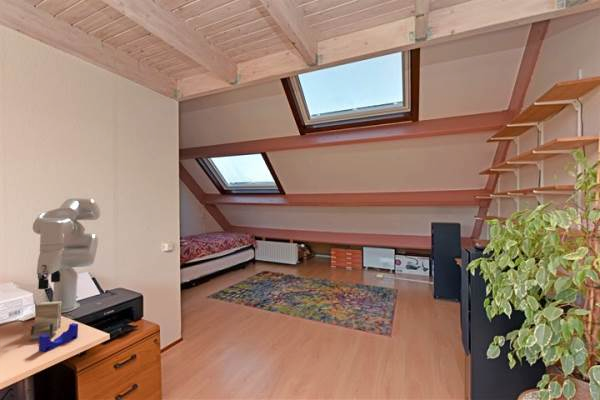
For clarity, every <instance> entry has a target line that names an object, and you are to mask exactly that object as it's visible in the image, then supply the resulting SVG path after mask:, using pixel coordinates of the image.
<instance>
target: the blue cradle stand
mask: <svg viewBox="0 0 600 400" xmlns="http://www.w3.org/2000/svg"><path fill="white" fill-rule="evenodd" d="M78 328H79V323H74V322H73V323H70V324H69V325H68V329H67V330H66V331H63V332H62V333H61V334H60V335H59V336H58V337H56V338H55V339H54V340H51V339H50V338H49V335H45V334H43V335H41V336H39V340H38V352H41V353H47V352H49V351H51V350H53V349H54V348H57V347H60V346H63V345H65V344H66V343H69V342H71V341H73V339H74V340H76V339H78V338H79V337H78V332H79V329H78Z"/></svg>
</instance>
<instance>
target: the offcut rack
mask: <svg viewBox="0 0 600 400" xmlns="http://www.w3.org/2000/svg"><path fill="white" fill-rule="evenodd" d="M54 330H55V329H54V326H53V324H50V327H40V328H37V329H36V330H35V324H33V325H31V327H30V338H29V342H36V341H38V342H39V336H41V335H43V334H45V335H49V338H50V340H51V339H52V338H54V337H55V336H56V335H57V332H55V331H56V330H55V331H54Z"/></svg>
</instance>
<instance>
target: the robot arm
mask: <svg viewBox="0 0 600 400" xmlns="http://www.w3.org/2000/svg"><path fill="white" fill-rule="evenodd" d="M100 217H101V211H100V207H99V205H98V203H97V202H96V201H95V199H92V198H73V197H72V198H68V199H66V200H65V201H64V202H63V203H62V204H61V205H60V207H58V208H55V209H50V210H47V211H45V212H42V213H40V214H39V215H38V216H37V218H35V220H34V222H33V223H32V230H33V233H35V234H37V235H40V238H39V239H40V240H39V253H38V254H39V255H38V258H37V259H38V260H37V266H36V274H37V281H38V284H37V287H38V290H47V289H49V279H48V278H49V277H50V283H53V289H52V290H53V291H52V302H59V301H62V305H61V314H62V313H63V314H64V313H67V312H71V311H75V310H77V309H78V308H79V307H80V306H81V305H80V303H79V302H77V299H78V293H77V292H78V273H77V271H76V270H75V269H74V268H81V267H82V268H83V267H91V266H93V264H94V263H95V258H96V253H97V251H98V250H97V249H98V244H99V238H98V236H97V234H95V233H85V231H86V229H85V227H84V225H83V224H82V223H80V221H96V220H98V219H99V218H100Z"/></svg>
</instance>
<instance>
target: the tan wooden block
mask: <svg viewBox="0 0 600 400" xmlns="http://www.w3.org/2000/svg"><path fill="white" fill-rule="evenodd" d="M61 305H62V301H59V302H53V301H48V302H38V303H37V304H36V305H35V312H34V313H35V314H34V315H35V316H34V325H35V330H36V329H37V328H40V327H50V324H53V326H54V329H55V331H58V330H59V329H60V328H61V323H62V321H61V320H62V313H61Z"/></svg>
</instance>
